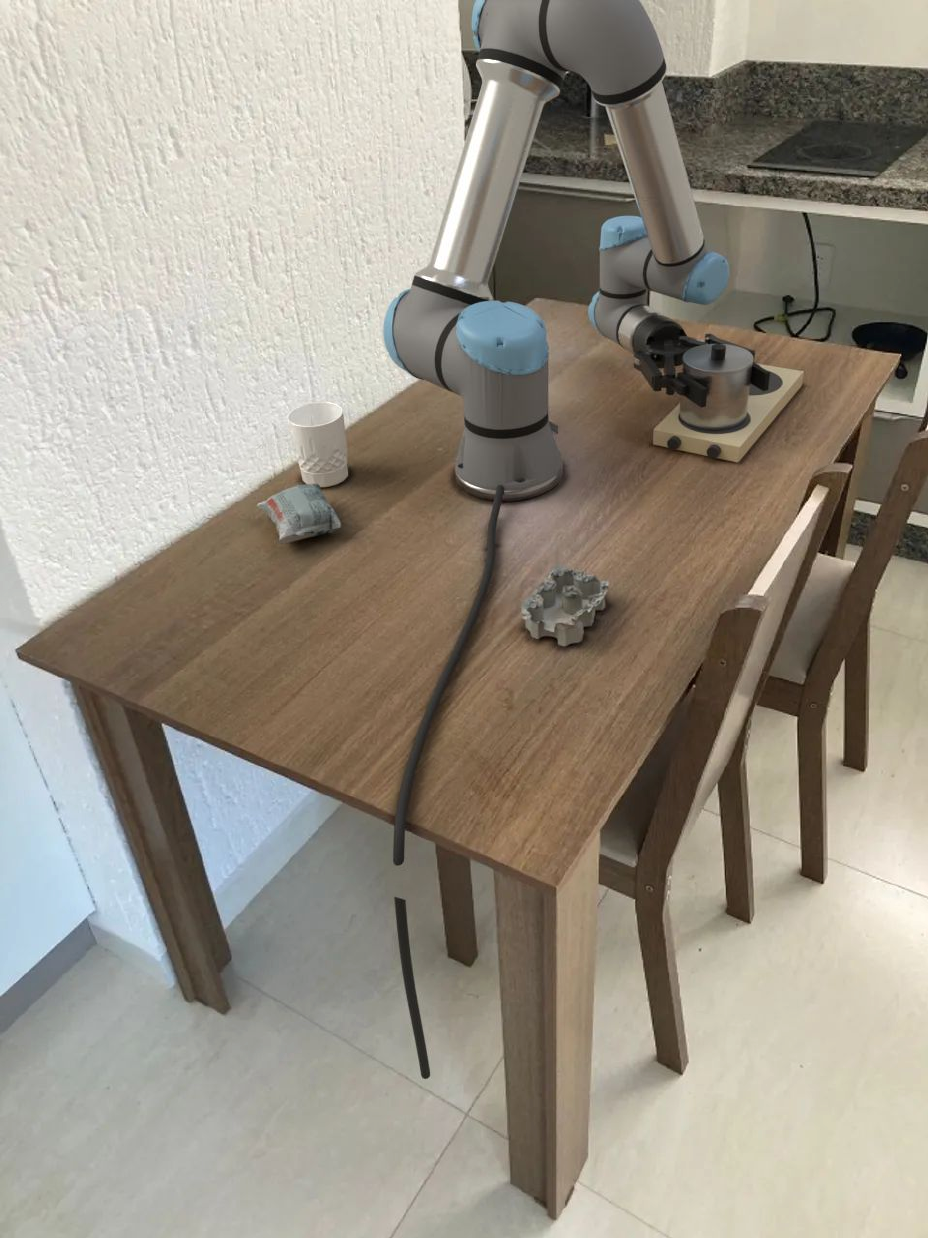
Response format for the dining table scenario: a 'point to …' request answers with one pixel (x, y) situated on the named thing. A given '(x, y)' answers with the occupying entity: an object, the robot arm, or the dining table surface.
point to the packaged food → (300, 513)
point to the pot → (718, 385)
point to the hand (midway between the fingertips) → (735, 389)
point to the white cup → (319, 442)
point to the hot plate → (738, 438)
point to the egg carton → (564, 604)
